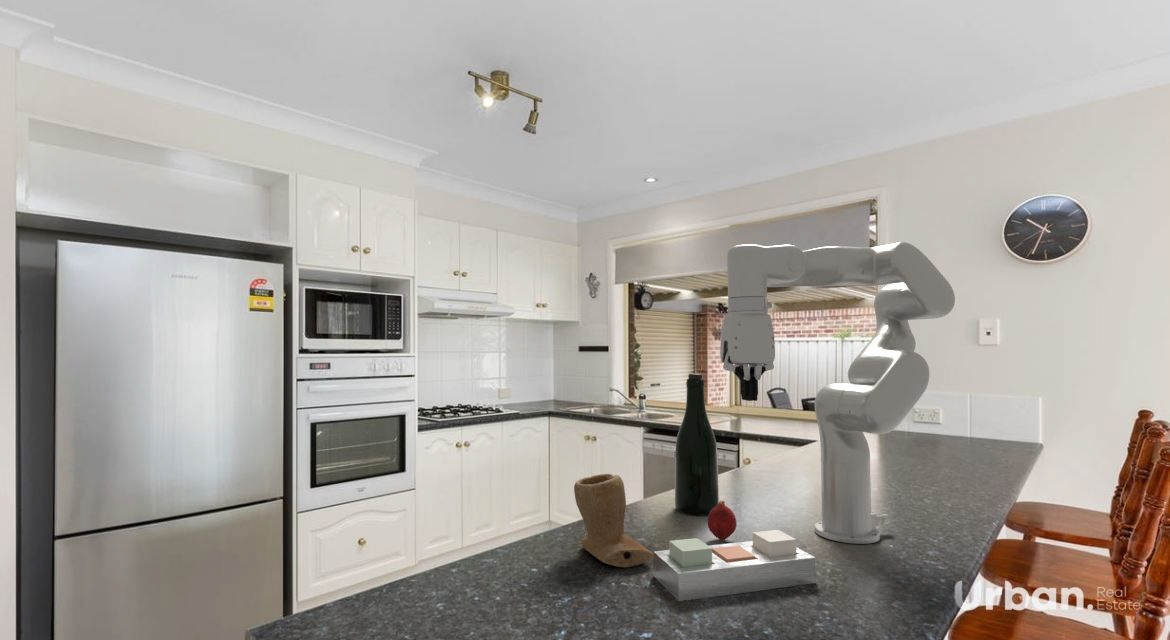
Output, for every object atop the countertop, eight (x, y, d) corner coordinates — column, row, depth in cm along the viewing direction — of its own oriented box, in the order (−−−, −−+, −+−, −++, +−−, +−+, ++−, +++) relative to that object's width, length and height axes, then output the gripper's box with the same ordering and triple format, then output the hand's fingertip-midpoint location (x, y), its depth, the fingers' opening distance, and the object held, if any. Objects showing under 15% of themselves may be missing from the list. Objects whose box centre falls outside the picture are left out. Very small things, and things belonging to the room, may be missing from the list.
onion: (737, 546, 112) (737, 505, 112) (707, 544, 113) (707, 503, 113) (735, 536, 118) (735, 497, 118) (707, 534, 119) (707, 496, 119)
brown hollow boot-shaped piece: (566, 547, 112) (566, 470, 112) (621, 540, 116) (621, 466, 116) (593, 576, 97) (593, 488, 98) (655, 567, 102) (654, 482, 102)
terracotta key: (738, 562, 99) (738, 545, 99) (755, 574, 94) (755, 556, 94) (712, 566, 98) (711, 548, 98) (727, 577, 93) (727, 559, 93)
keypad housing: (779, 561, 104) (779, 538, 104) (815, 582, 94) (815, 557, 95) (653, 576, 97) (653, 551, 97) (678, 601, 88) (678, 573, 88)
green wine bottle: (686, 501, 144) (685, 372, 146) (725, 508, 138) (723, 373, 140) (667, 511, 136) (666, 373, 137) (708, 519, 130) (706, 374, 131)
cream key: (778, 546, 101) (777, 529, 102) (796, 557, 96) (796, 539, 97) (752, 549, 100) (752, 532, 100) (770, 560, 95) (769, 542, 95)
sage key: (697, 555, 97) (697, 538, 97) (712, 567, 92) (711, 548, 92) (669, 558, 96) (669, 540, 96) (682, 570, 91) (682, 551, 91)
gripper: (769, 309, 118) (771, 397, 117) (704, 308, 114) (706, 399, 113) (791, 306, 111) (793, 400, 110) (723, 305, 107) (725, 403, 106)
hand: (749, 400), depth 112 cm, fingers closed
